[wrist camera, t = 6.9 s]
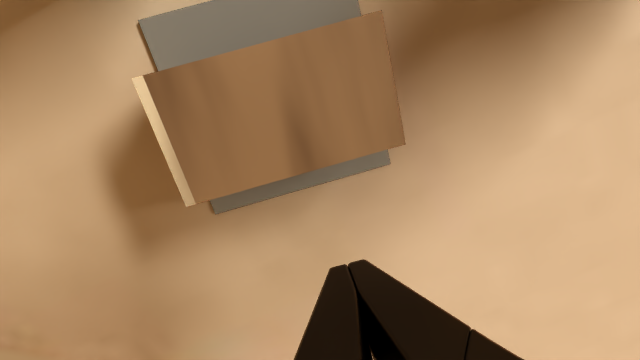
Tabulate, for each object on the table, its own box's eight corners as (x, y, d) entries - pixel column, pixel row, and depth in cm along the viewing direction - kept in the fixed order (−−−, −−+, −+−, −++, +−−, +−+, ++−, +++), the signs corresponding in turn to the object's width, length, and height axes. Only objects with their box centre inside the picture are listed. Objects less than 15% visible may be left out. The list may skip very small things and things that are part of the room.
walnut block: (170, 73, 17) (352, 23, 17) (208, 169, 19) (373, 123, 19) (131, 78, 12) (381, 10, 13) (185, 206, 14) (405, 144, 14)
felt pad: (349, -36, 17) (350, -37, 16) (389, 162, 20) (390, 164, 20) (139, 20, 16) (138, 20, 16) (215, 212, 20) (215, 214, 20)
